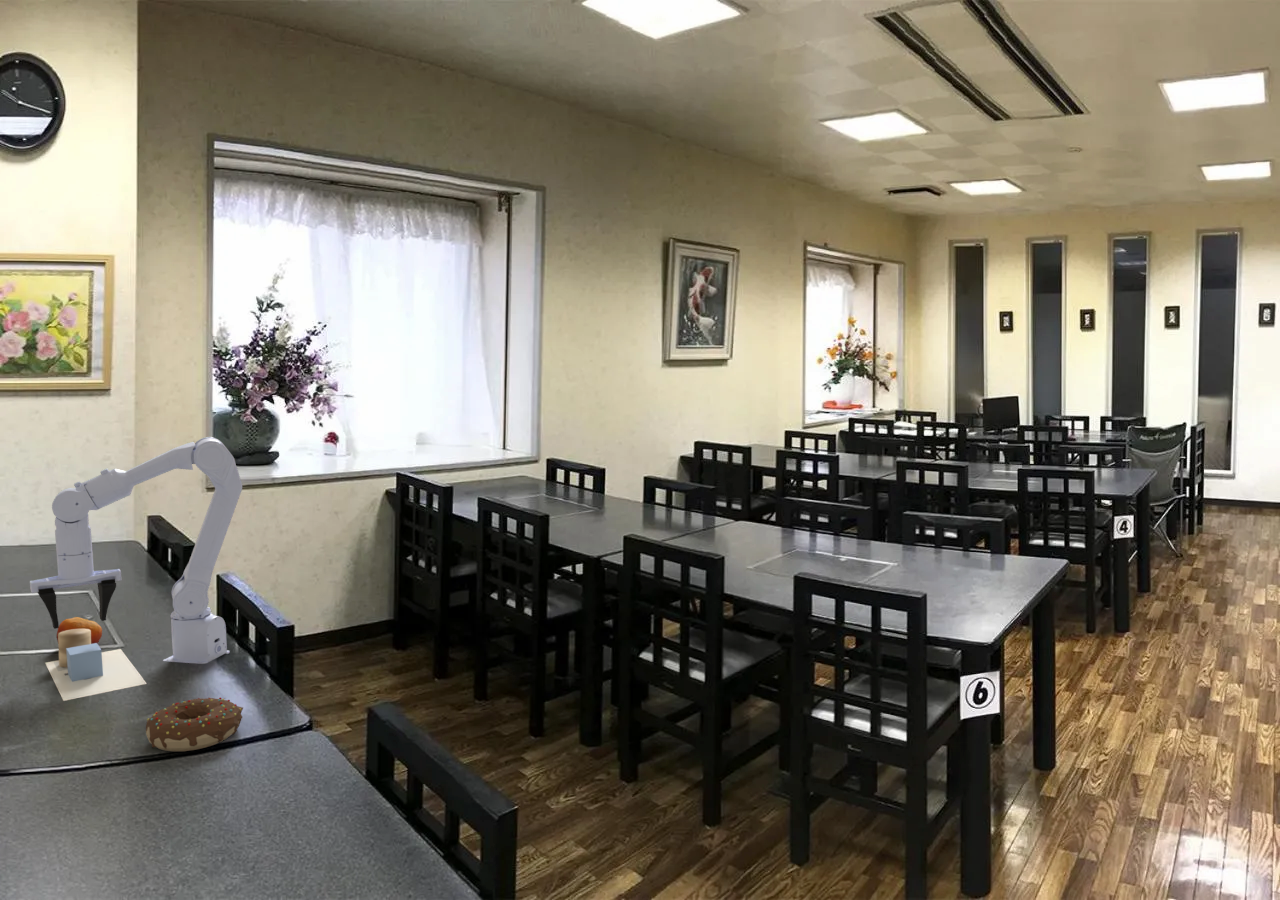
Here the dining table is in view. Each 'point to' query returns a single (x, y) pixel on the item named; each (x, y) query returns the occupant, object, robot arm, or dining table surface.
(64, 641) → the wooden cylinder
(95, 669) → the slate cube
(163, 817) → the dining table surface
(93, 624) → the fruit
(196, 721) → the donut
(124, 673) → the letter mat
